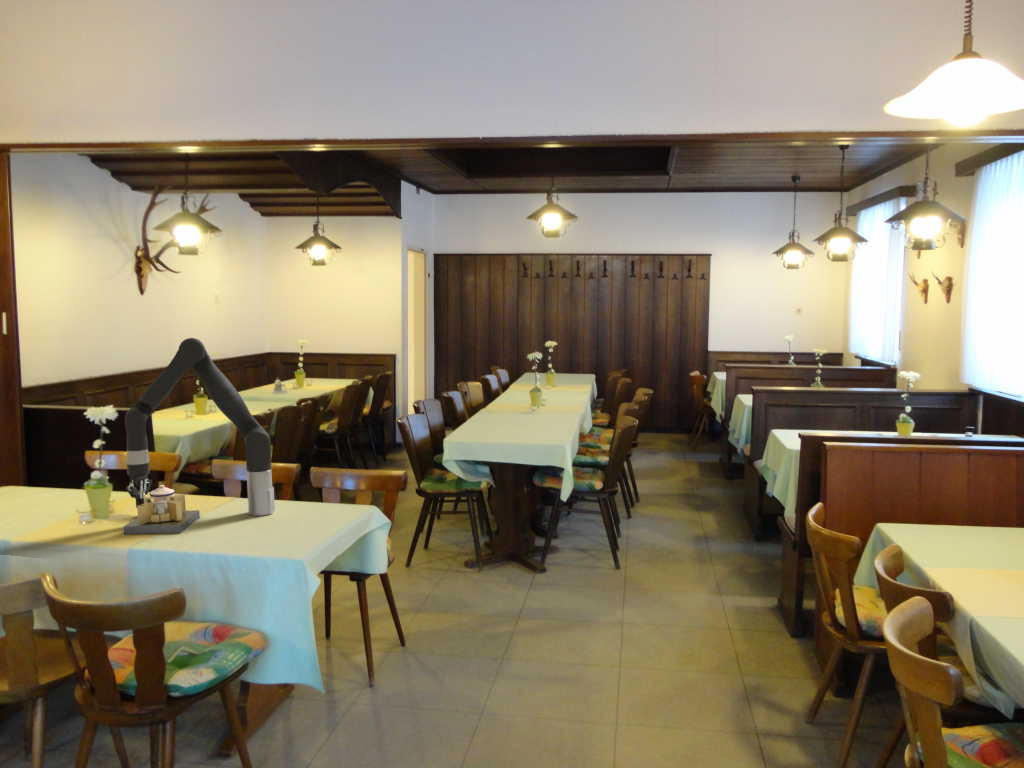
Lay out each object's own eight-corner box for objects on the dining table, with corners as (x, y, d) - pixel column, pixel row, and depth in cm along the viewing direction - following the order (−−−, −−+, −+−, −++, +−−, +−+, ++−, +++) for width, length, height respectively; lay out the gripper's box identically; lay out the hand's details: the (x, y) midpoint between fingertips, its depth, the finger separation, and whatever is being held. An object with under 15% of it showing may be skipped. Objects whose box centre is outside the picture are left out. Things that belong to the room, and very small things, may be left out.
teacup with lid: (167, 517, 308) (166, 488, 306) (145, 517, 309) (144, 487, 307) (184, 509, 319) (182, 481, 318) (163, 509, 321) (161, 480, 319)
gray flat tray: (199, 517, 307) (198, 495, 306) (180, 533, 287) (179, 508, 286) (146, 519, 306) (145, 496, 305) (124, 534, 286) (122, 510, 285)
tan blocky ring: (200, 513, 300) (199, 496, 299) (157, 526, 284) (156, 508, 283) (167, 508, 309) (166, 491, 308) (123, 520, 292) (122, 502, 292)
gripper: (136, 465, 287) (138, 512, 289) (157, 458, 300) (160, 503, 302) (117, 465, 288) (119, 511, 290) (139, 458, 301) (141, 503, 303)
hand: (140, 507), depth 296 cm, fingers closed
